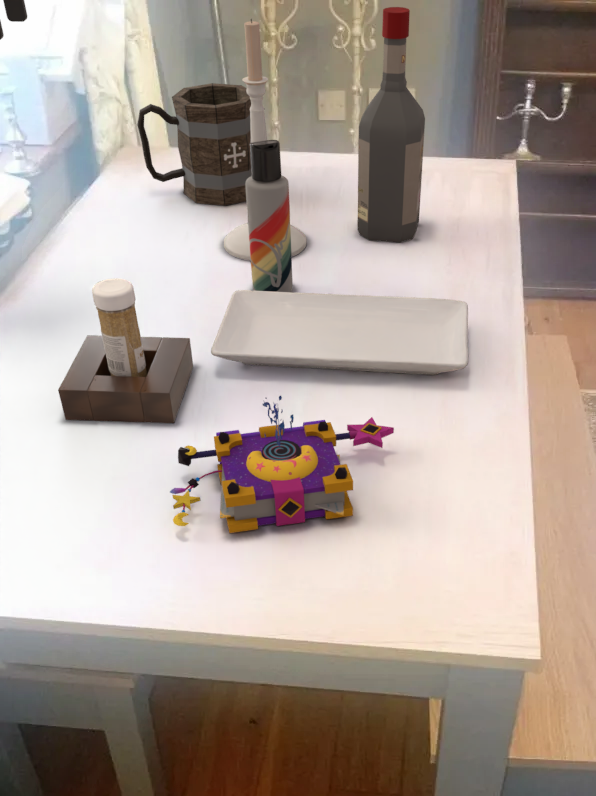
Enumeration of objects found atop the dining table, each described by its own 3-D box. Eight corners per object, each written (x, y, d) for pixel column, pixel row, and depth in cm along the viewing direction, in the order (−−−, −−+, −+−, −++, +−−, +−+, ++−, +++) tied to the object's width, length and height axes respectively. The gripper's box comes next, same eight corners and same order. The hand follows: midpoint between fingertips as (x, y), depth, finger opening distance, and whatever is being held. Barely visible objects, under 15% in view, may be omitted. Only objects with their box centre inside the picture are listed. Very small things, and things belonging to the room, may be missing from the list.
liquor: (420, 221, 146) (433, 3, 125) (413, 244, 139) (426, 19, 118) (364, 218, 147) (368, 1, 126) (355, 240, 140) (357, 16, 119)
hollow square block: (65, 420, 104) (57, 389, 101) (93, 364, 113) (87, 334, 111) (174, 423, 104) (169, 393, 101) (193, 367, 113) (189, 337, 110)
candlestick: (289, 266, 134) (278, 33, 113) (210, 255, 137) (186, 26, 116) (317, 233, 142) (313, 11, 121) (243, 223, 145) (226, 5, 124)
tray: (465, 389, 109) (468, 363, 106) (210, 376, 111) (207, 350, 109) (466, 323, 121) (468, 299, 118) (235, 312, 123) (233, 288, 121)
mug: (258, 175, 161) (252, 81, 150) (264, 203, 151) (259, 105, 141) (147, 181, 159) (134, 86, 148) (147, 210, 149) (132, 111, 139)
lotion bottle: (261, 303, 125) (250, 150, 111) (247, 286, 129) (236, 136, 115) (298, 295, 127) (293, 144, 113) (284, 279, 131) (277, 130, 117)
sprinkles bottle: (158, 392, 109) (141, 285, 99) (127, 406, 106) (106, 299, 97) (136, 378, 111) (117, 272, 101) (105, 391, 109) (83, 285, 99)
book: (165, 464, 98) (148, 364, 89) (387, 436, 102) (391, 336, 93) (177, 550, 88) (159, 446, 79) (423, 515, 92) (431, 411, 83)
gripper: (-47, -163, 96) (-6, 15, 107) (-101, -150, 86) (-50, 45, 97) (22, -163, 95) (56, 16, 107) (-24, -149, 85) (19, 46, 97)
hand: (6, 30), depth 102 cm, fingers open, 8 cm apart
